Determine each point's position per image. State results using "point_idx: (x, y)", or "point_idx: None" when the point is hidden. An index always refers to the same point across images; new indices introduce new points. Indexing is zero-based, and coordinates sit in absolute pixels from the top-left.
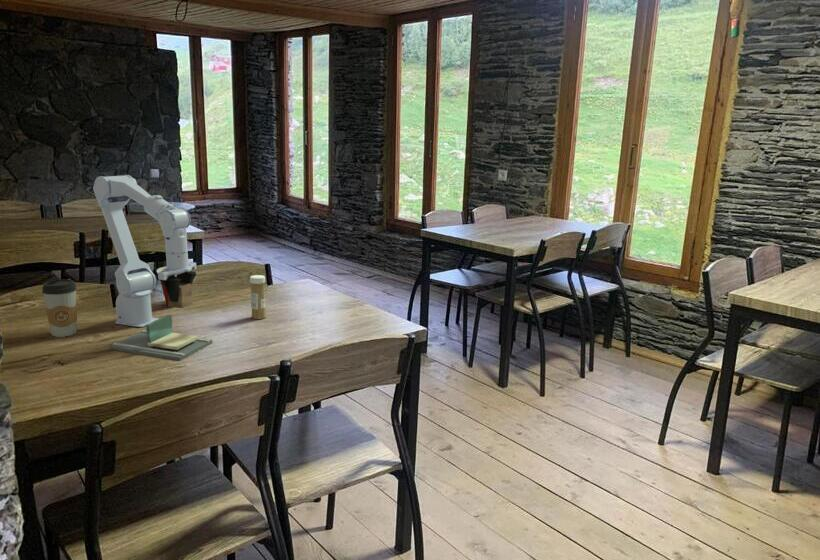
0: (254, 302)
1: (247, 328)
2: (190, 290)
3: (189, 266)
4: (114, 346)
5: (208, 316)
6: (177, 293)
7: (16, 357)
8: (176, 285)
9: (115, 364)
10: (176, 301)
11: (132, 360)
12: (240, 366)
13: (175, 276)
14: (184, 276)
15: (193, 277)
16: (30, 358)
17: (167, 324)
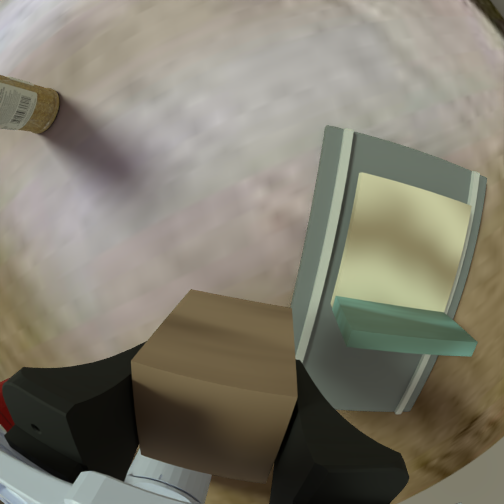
0: (18, 100)
1: (141, 79)
2: (169, 334)
3: (28, 501)
4: (413, 400)
5: (66, 273)
6: (307, 388)
7: (426, 485)
8: (355, 434)
9: (498, 332)
10: (300, 361)
11: (483, 310)
12: (460, 16)
13: (5, 430)
14: (105, 453)
15: (60, 376)
16: (435, 471)
17: (372, 318)
